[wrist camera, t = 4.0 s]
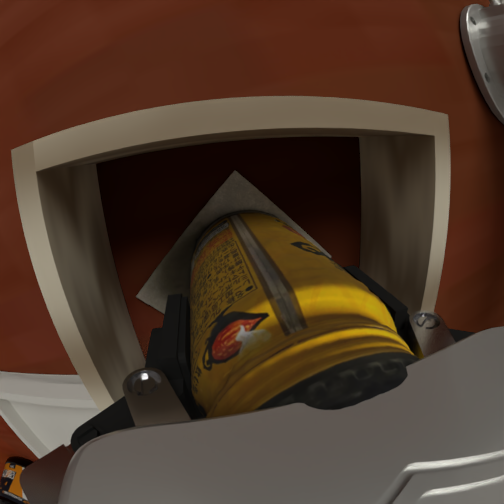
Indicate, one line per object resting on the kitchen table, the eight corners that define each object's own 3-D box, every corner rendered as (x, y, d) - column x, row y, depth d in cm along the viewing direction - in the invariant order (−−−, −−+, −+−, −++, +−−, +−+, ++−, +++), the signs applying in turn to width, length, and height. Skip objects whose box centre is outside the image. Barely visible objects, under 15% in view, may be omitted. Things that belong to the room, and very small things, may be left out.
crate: (76, 149, 12) (11, 150, 6) (371, 120, 14) (447, 114, 8) (144, 392, 17) (137, 462, 12) (361, 352, 19) (403, 405, 14)
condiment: (330, 254, 16) (489, 392, 5) (236, 355, 17) (285, 536, 6) (234, 169, 14) (387, 228, 3) (136, 293, 15) (80, 503, 4)
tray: (-7, 370, 14) (-19, 388, 12) (115, 374, 16) (109, 400, 14) (81, 478, 20) (78, 493, 18) (182, 483, 22) (183, 501, 20)
